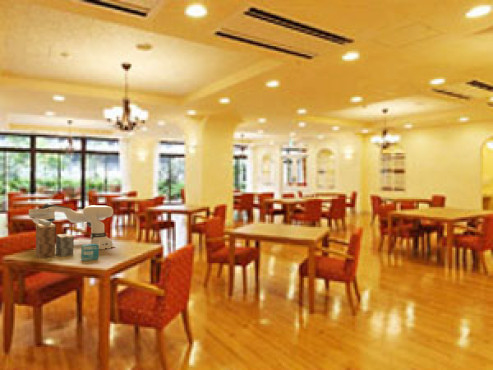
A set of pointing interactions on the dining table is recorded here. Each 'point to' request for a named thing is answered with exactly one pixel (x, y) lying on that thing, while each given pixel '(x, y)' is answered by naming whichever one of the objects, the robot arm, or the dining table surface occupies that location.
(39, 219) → the sanding stick
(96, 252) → the data package
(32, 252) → the dining table surface
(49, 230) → the tall stand
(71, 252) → the grey marbled block
